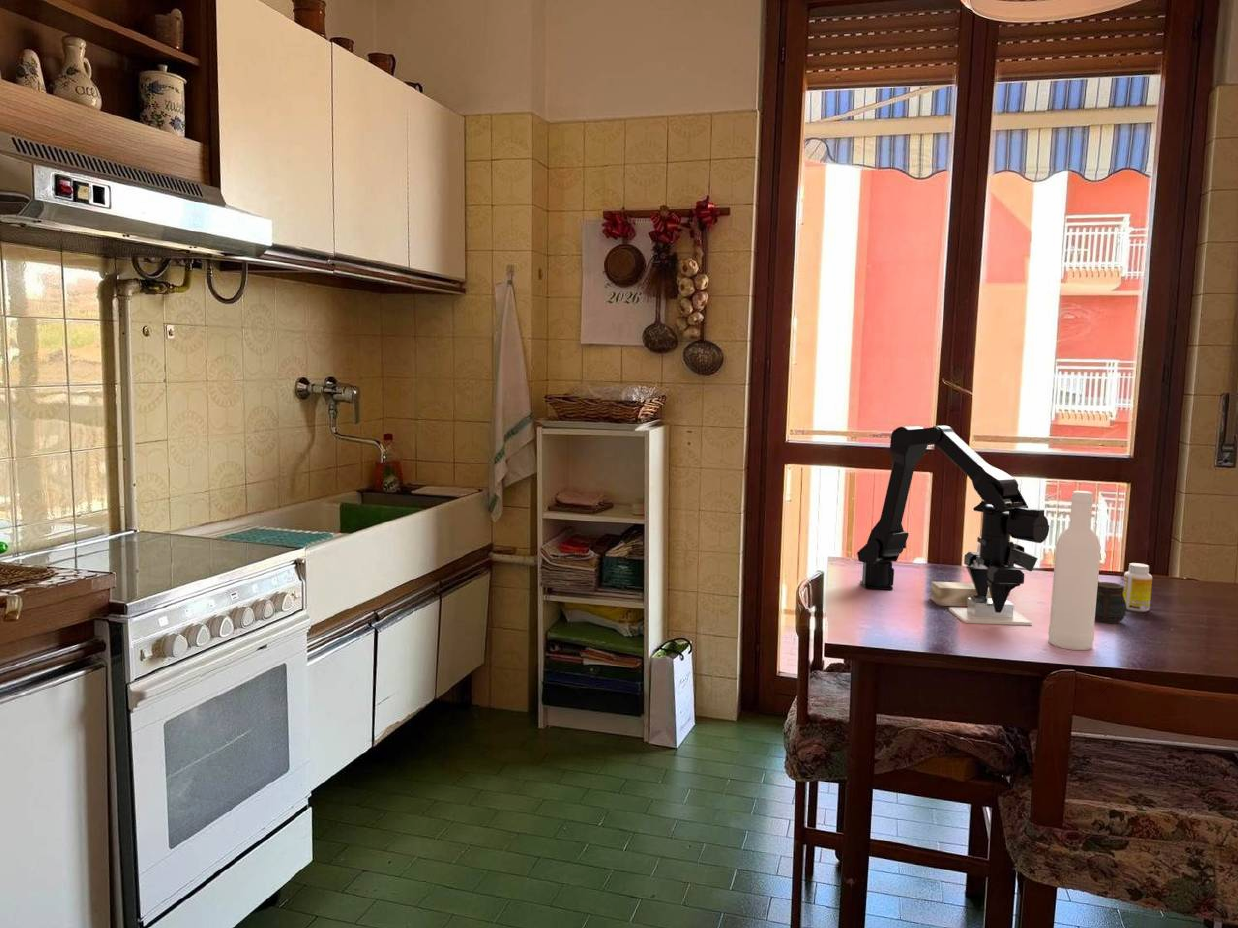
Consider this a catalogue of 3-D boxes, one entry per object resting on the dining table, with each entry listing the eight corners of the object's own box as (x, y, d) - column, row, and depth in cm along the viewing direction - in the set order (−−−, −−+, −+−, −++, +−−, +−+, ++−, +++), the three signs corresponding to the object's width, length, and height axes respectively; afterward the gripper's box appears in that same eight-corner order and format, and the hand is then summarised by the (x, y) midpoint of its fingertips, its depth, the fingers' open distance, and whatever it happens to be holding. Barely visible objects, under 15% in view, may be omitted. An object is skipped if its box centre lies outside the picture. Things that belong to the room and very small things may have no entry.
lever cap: (974, 616, 196) (975, 599, 195) (967, 611, 200) (968, 594, 200) (1012, 618, 195) (1014, 600, 195) (1004, 612, 200) (1005, 595, 200)
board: (964, 622, 193) (964, 619, 193) (948, 610, 203) (949, 607, 203) (1032, 625, 193) (1032, 622, 193) (1013, 612, 203) (1013, 609, 202)
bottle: (1102, 650, 177) (1116, 494, 173) (1066, 651, 175) (1079, 494, 172) (1073, 637, 184) (1086, 489, 181) (1038, 639, 183) (1050, 489, 179)
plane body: (938, 605, 207) (940, 579, 206) (930, 598, 213) (932, 572, 212) (1006, 607, 207) (1008, 581, 206) (996, 600, 212) (998, 575, 212)
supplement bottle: (1155, 611, 207) (1159, 566, 206) (1136, 613, 205) (1140, 568, 204) (1133, 605, 212) (1137, 561, 211) (1115, 606, 210) (1119, 562, 209)
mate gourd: (1125, 627, 193) (1128, 580, 192) (1084, 622, 197) (1087, 576, 196) (1126, 619, 199) (1130, 574, 198) (1087, 614, 203) (1090, 569, 202)
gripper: (1053, 544, 186) (1046, 620, 188) (1016, 528, 205) (1011, 596, 207) (997, 542, 187) (991, 618, 188) (965, 526, 205) (960, 595, 207)
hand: (990, 606), depth 198 cm, fingers open, 9 cm apart
